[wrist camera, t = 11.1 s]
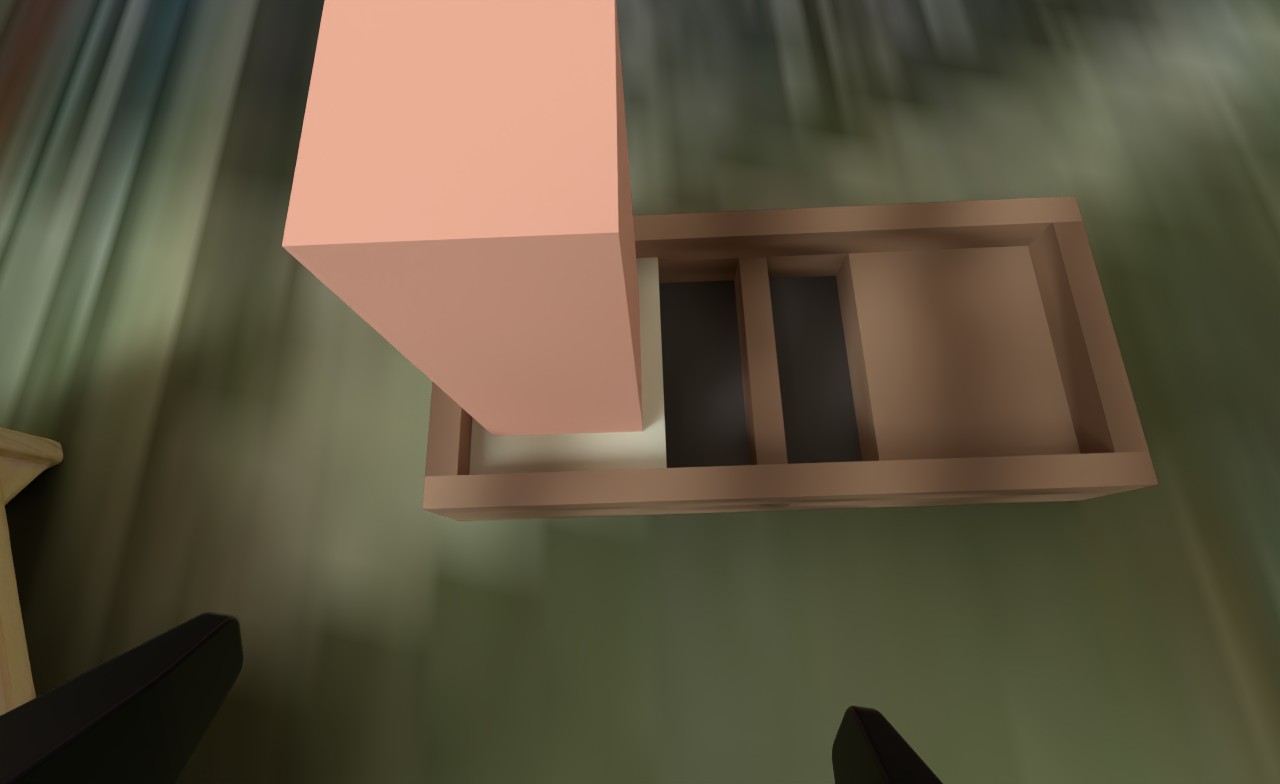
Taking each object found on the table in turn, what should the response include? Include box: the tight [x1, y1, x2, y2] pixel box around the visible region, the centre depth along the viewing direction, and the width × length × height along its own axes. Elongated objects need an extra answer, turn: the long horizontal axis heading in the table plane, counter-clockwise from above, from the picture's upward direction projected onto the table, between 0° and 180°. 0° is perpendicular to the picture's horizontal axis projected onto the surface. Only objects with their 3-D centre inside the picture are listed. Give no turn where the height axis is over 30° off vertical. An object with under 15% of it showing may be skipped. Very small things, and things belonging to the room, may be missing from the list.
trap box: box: [423, 196, 1158, 521], centre depth 22 cm, size 22×10×4 cm, turn 92°
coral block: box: [282, 0, 643, 436], centre depth 15 cm, size 5×5×12 cm
